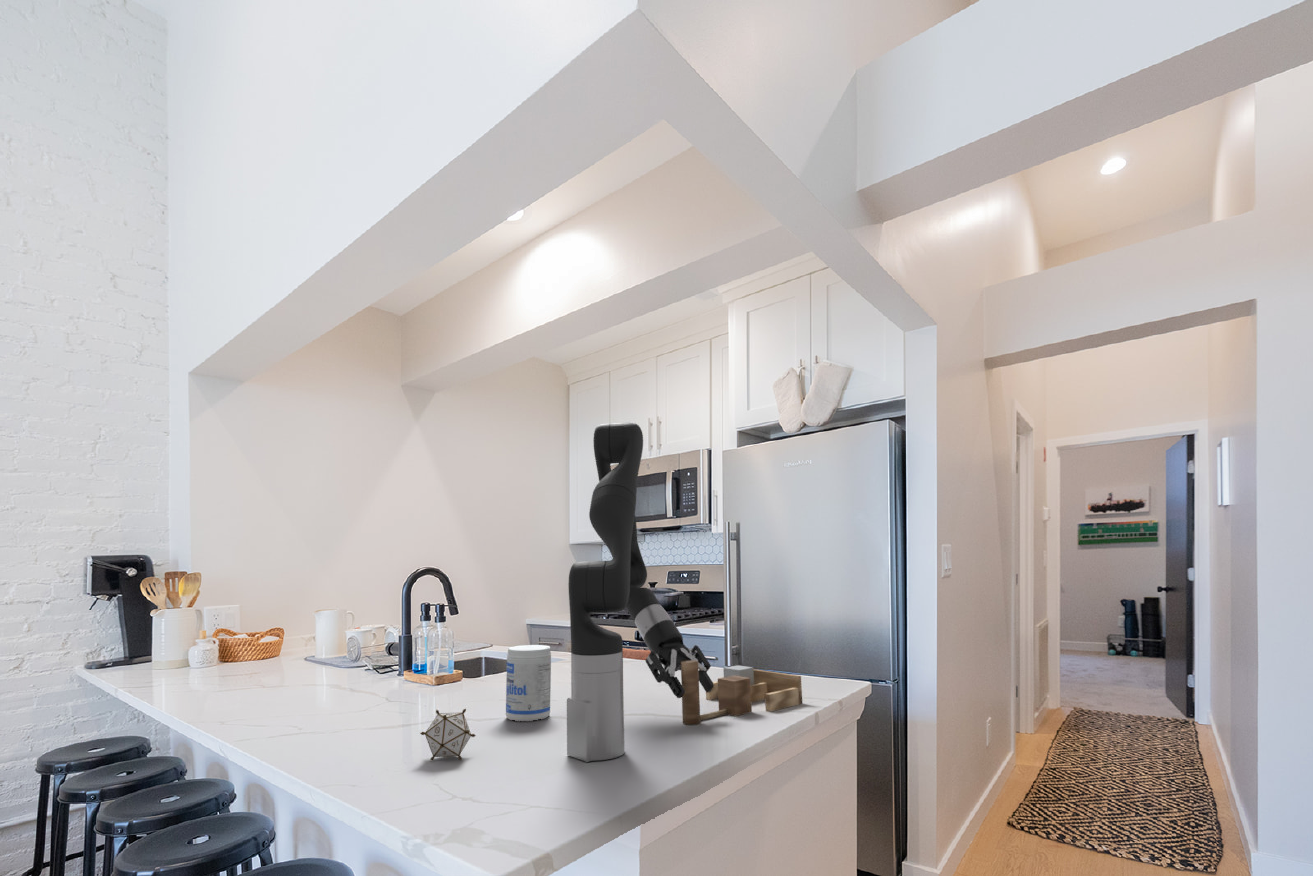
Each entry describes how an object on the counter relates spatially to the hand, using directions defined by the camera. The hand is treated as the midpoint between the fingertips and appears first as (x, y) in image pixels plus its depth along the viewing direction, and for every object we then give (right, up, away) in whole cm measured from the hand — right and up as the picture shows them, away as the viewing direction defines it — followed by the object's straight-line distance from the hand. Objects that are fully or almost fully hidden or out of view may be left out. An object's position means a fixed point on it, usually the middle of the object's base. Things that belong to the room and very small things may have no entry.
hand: (696, 692), depth 144 cm
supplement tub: (-36, -9, +9) cm, 38 cm away
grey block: (+12, -10, +22) cm, 27 cm away
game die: (-45, -4, -21) cm, 49 cm away
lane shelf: (+14, -9, +19) cm, 25 cm away
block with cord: (+4, -7, +4) cm, 9 cm away
